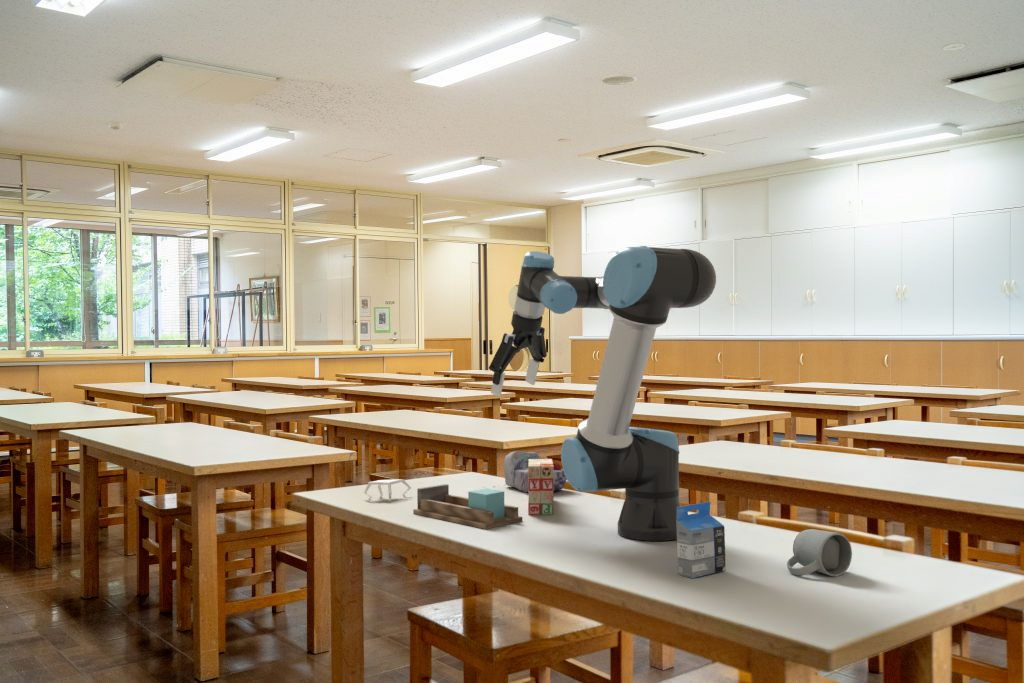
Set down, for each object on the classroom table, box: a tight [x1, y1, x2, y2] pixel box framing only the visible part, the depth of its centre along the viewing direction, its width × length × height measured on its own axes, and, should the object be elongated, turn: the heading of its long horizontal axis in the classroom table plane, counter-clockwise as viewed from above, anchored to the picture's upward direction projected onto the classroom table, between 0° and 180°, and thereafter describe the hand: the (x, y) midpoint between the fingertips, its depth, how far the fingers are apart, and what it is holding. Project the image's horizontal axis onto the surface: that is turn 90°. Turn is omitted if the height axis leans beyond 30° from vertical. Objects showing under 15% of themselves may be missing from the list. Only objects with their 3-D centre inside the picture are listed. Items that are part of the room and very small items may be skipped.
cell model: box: [503, 450, 568, 493], centre depth 244 cm, size 13×11×20 cm
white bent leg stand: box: [363, 478, 412, 502], centre depth 231 cm, size 12×8×5 cm
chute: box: [412, 483, 523, 530], centre depth 205 cm, size 26×12×6 cm, turn 45°
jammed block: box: [467, 488, 505, 519], centre depth 200 cm, size 6×6×6 cm
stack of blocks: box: [527, 458, 554, 516], centre depth 218 cm, size 21×6×12 cm, turn 179°
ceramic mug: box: [786, 528, 853, 578], centre depth 154 cm, size 11×8×8 cm
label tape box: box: [676, 501, 727, 579], centre depth 154 cm, size 9×4×12 cm, turn 124°
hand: (513, 388), depth 219 cm, fingers open, 13 cm apart
